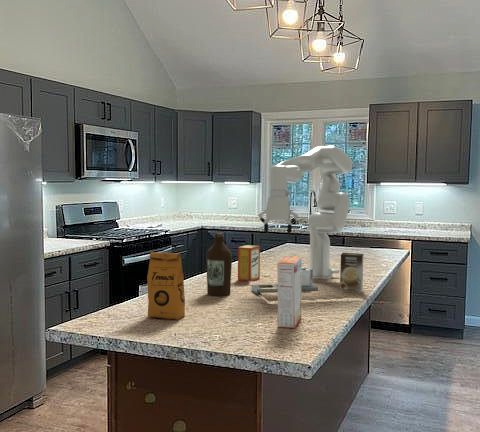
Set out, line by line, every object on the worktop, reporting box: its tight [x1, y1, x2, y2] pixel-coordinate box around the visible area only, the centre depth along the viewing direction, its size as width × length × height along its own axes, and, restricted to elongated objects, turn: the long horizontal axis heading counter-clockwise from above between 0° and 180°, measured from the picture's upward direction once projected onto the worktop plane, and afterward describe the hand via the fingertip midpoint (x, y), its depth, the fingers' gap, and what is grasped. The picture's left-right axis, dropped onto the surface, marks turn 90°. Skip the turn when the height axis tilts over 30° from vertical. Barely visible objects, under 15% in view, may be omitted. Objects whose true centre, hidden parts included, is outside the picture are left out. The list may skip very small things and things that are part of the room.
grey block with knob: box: [301, 267, 310, 287], centre depth 224 cm, size 4×4×8 cm
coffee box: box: [339, 252, 364, 294], centre depth 224 cm, size 9×6×16 cm
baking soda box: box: [237, 244, 261, 282], centre depth 250 cm, size 10×6×16 cm
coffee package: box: [146, 251, 186, 321], centre depth 179 cm, size 10×12×22 cm
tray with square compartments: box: [251, 283, 319, 296], centre depth 223 cm, size 26×10×2 cm, turn 101°
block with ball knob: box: [304, 267, 314, 285], centre depth 234 cm, size 4×4×8 cm
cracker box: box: [276, 256, 302, 329], centre depth 173 cm, size 14×6×21 cm, turn 164°
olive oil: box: [205, 232, 233, 297], centre depth 217 cm, size 11×11×25 cm
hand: (277, 233), depth 230 cm, fingers open, 9 cm apart
